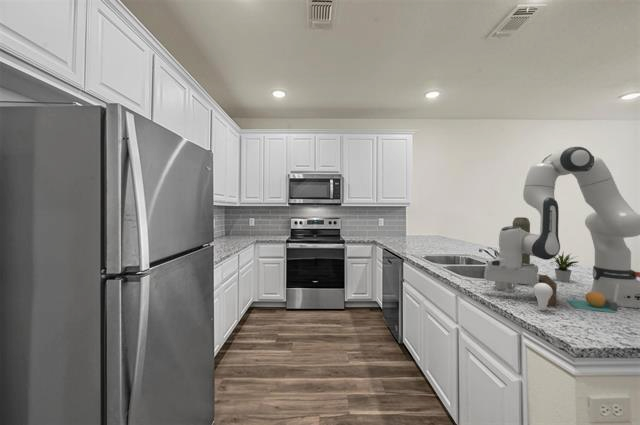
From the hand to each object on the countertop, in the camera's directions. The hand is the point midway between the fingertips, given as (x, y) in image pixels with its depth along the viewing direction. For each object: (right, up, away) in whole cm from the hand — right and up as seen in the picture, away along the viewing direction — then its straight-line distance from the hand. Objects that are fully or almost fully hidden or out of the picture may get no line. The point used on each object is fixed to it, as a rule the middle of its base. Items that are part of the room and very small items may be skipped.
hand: (509, 292), depth 130 cm
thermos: (+21, -2, +23) cm, 31 cm away
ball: (+26, +1, -13) cm, 30 cm away
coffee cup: (+5, -2, +12) cm, 13 cm away
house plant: (+45, -1, +26) cm, 52 cm away
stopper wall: (+30, -2, -15) cm, 34 cm away
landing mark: (+25, -2, -12) cm, 28 cm away
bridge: (+12, -2, -6) cm, 14 cm away
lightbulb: (+2, -3, -17) cm, 17 cm away
